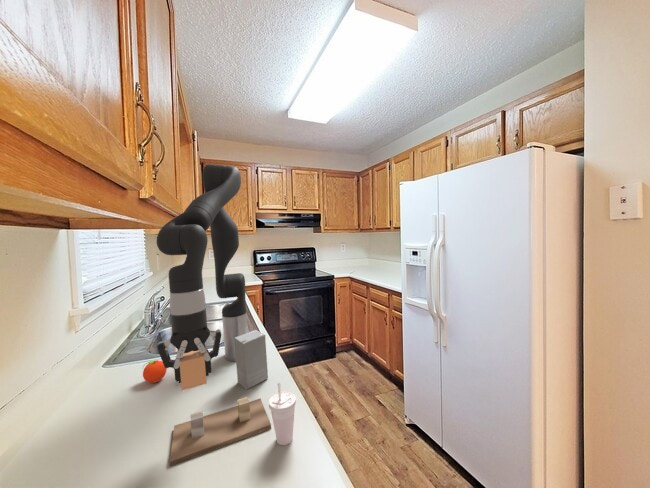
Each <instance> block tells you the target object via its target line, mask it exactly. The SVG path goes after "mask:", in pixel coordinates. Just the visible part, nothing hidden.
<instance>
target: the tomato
mask: <svg viewBox="0 0 650 488" xmlns="http://www.w3.org/2000/svg"><path fill="white" fill-rule="evenodd" d="M142 369H143V371H142V377H143V379H144V381H146V382H148V383H151V384H154V383H157V382H160V381H161V380H162V379H163V378H164V377H165V376H166V374H167V370H168V368H165V367H164V364H163V362H162V360H159V359H158V360H157V359H156V360H151V361H147V362H146V363H145V366H144V367H142Z"/></svg>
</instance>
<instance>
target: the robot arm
mask: <svg viewBox="0 0 650 488" xmlns="http://www.w3.org/2000/svg"><path fill="white" fill-rule="evenodd" d="M202 184H203V191H204V193H201V194H200V195H199V196H197V197H195V198H194V199H193V200H192V201H191V202H190V203H189V205H188V206H187V207H186V208H185V210H184V211H183V212H182V213H180V214H178V215H177V216H175V217H174V218H172V219H171V220H169V221H168V222H166V223H165V224H164V225H163V226H162V227H161V228H160V229H159V231H158V233H157V236H156V246H157V248H158V250H159V251H160V253H162V254H164V255H166V256H185V255H186V257H185V261H184V262H183V264H182V263H181V264H179V265H175V266H172V267H171V268H170V269H169V271H168V285H169V312H170V323H171V336H170V338H168V339H166V340H160V341H159V342H158V343H157V346H156V347H157V351H158V353H159V356H160V358H161V361H162V362H163V364H164V367H165V368H167V369H169V368H170V369H171V368H172V369H173V371H174V380H175V382H178V384H181V375H180V363H179V362H180V360H181V359H182V358H183V355H184V354H185V353H189V352H191V351H198V350H199V351H200V352H201V354H202V355H203V354H204V357H205V369H206V377H208V376H209V375H210V374H211V373H212V371H213V370H212V359H213V358H217V357H218V356H219V354H220V353H219V351H220V348H221V347H220V345H221V340H222V331H221V329H218V328H217V329H216V330H210V329H209V328H208V327H209V326H208V320H207V318H208V317H207V307H206V306H207V303H206V297H205V292H204V284H203V283H204V282H203V268H204V261H205V255H206V251H207V248H208V235H207V232H206V231H208V229H209V228H210V239H211V245H212V247H211V248H212V252H213V260H214V270H215V272H214V274H215V290H216V295H217V297H218V298H219V299H229V298H231V299H232V298H236V299H235V300H234V301H232V303H229V304H228V305H225V306H224V307H222V309H221V316H222V317H221V318H222V330H223V342H224V343H223V344H224V357H225V360H226V361H229V362H236V354H235V341H234V338H235V337H238V336H240V335H243V334H246V333H248V332H249V331H248V329H249V328H248V326H249V325H248V314H247V304H246V303H247V302H246V301H247V299H246V278H245V276H244V274H243V273H242V272H241V273H229V274H228V273H227V274H226V273H225V272H226V269H227V267H228V265H229V263H230V261H231V260H232V259H233V257H234V256H235V254H236V252H237V251H238V249H239V246H240V238H239V229H238V227H237V224H236V223H235V221H234V220H233V218H232V217H231V215H230V214H229V213H228V212H227V211H226V209H225V208H224V207H225V206H226V205H227V203H229V202H230V201H231V200H232V199H233V198H234V197H235V196H236V195H237V194H238V192H239V191H240V189H241V186H242V185H241V184H242V175H241V172H240V170H239V169H238V167H236V166H234V165H224V164H215V163H209V164H206V165H204V167H203V169H202ZM209 337H211V340H212V341H213V345H212V350H208V347H207V345H206V342H207V340H208V339H209ZM170 345H172V346H173V347H174V348H175V349H177V353H176V356H175V359H171V356H170V354H169V353H170V352H169V351H168V350H169V349H170Z"/></svg>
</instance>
